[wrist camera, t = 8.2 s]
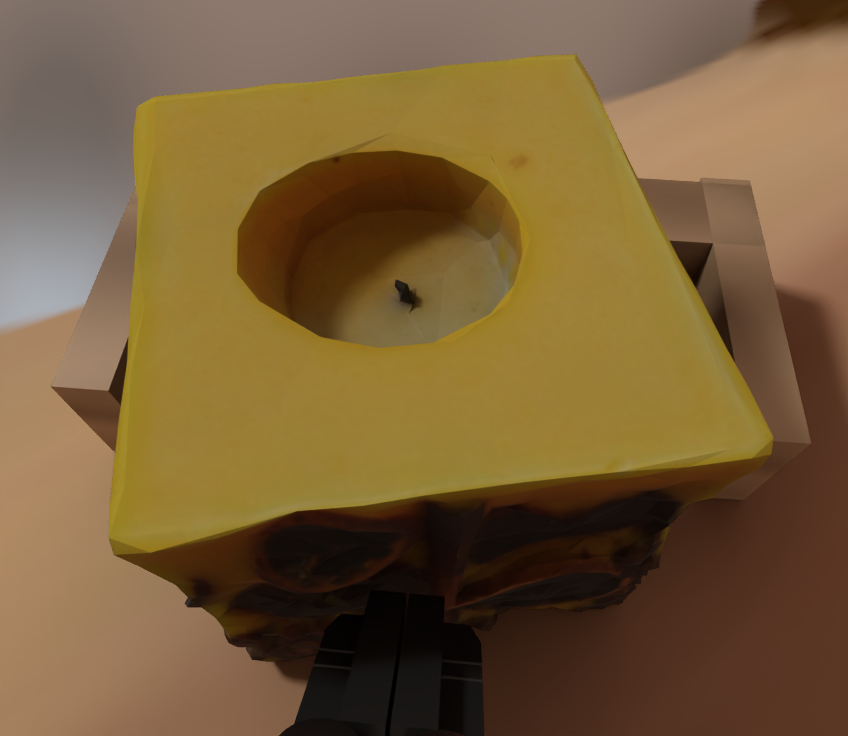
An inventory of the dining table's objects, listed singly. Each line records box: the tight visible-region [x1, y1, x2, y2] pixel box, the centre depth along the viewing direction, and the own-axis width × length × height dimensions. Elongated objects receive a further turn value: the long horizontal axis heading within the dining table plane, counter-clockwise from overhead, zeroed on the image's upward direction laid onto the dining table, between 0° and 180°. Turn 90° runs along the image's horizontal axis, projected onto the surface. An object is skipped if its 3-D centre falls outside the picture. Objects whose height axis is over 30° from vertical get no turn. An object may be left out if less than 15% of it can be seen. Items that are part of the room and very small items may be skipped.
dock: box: [51, 178, 811, 500], centre depth 21 cm, size 9×19×4 cm, turn 85°
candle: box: [109, 55, 774, 662], centre depth 16 cm, size 10×10×10 cm
